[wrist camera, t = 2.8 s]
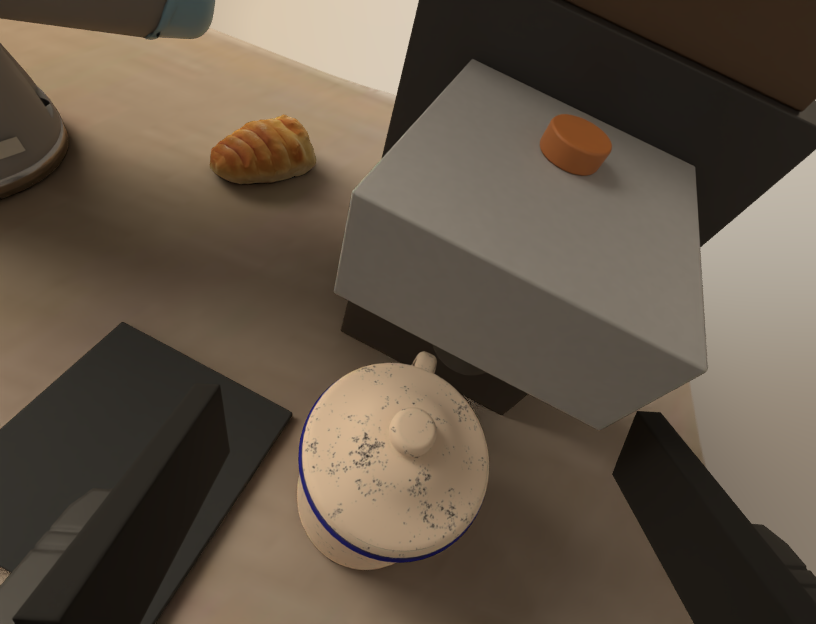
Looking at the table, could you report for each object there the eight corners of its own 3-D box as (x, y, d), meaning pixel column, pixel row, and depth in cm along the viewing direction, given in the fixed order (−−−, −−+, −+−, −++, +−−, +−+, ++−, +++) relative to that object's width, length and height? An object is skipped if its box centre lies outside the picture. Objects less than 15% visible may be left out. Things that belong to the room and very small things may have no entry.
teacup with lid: (409, 602, 24) (495, 598, 14) (262, 536, 24) (254, 490, 14) (461, 416, 31) (540, 335, 22) (349, 366, 31) (380, 264, 22)
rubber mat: (141, 644, 20) (138, 645, 20) (-87, 514, 21) (-96, 512, 20) (292, 415, 28) (292, 412, 28) (125, 325, 29) (122, 321, 28)
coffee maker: (464, 544, 26) (2303, -79, 2) (268, 438, 27) (213, -889, 3) (525, 339, 37) (977, -149, 13) (384, 266, 37) (572, -325, 14)
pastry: (237, 202, 37) (233, 166, 34) (194, 159, 39) (187, 121, 36) (321, 171, 43) (324, 137, 40) (280, 133, 44) (280, 99, 41)
